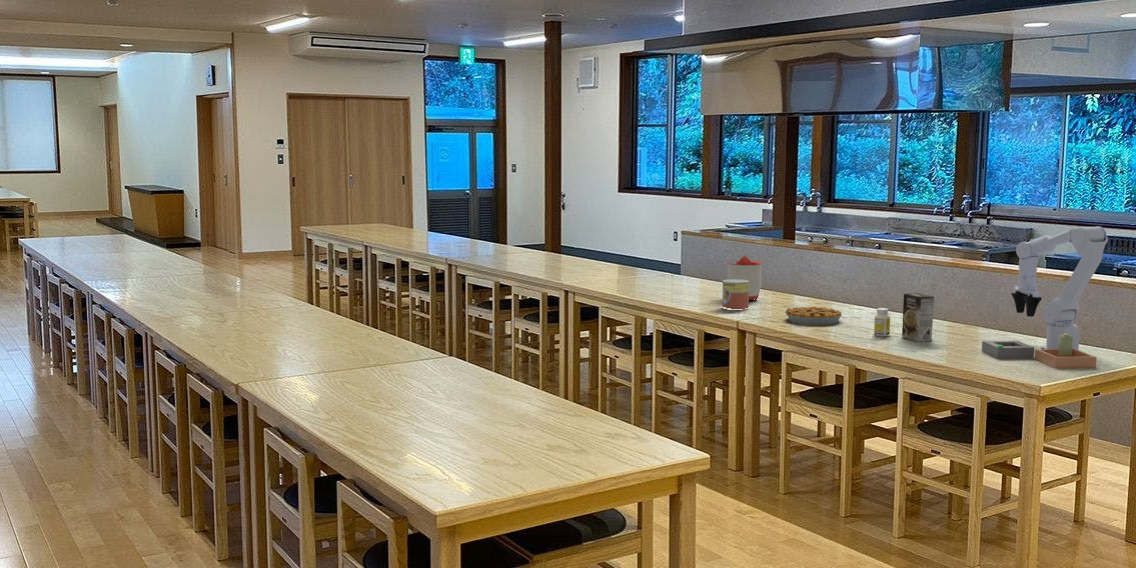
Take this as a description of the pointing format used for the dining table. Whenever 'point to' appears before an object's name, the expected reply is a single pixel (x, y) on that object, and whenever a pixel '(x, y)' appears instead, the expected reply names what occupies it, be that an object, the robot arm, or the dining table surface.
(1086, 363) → the tray
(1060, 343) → the olive cell
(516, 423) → the dining table surface
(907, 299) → the coffee box
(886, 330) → the supplement bottle
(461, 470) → the dining table surface
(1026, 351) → the frame
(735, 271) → the citrus juicer
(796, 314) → the pie
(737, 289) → the canned food
